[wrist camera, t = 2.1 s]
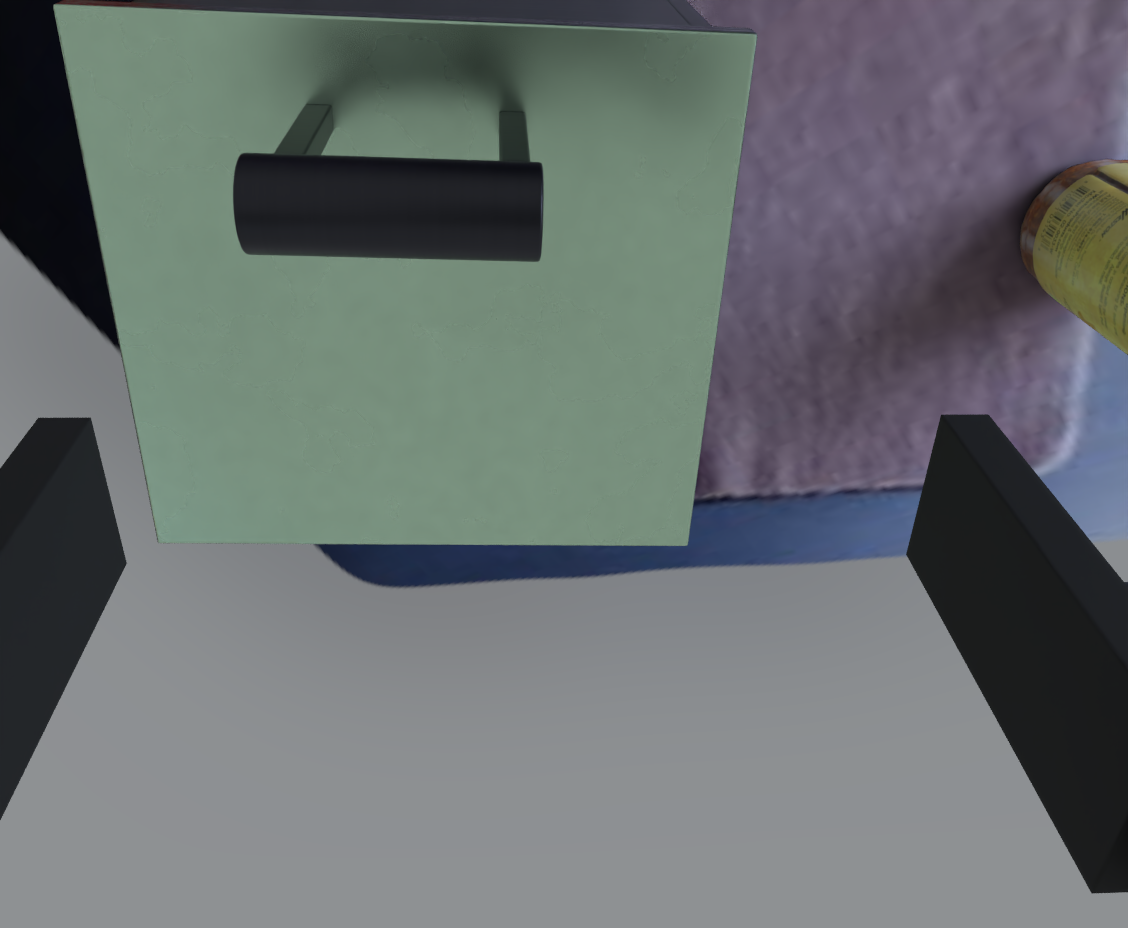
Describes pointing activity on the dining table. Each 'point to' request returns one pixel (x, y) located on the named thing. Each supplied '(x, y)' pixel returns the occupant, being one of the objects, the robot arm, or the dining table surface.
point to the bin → (495, 8)
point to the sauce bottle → (1083, 244)
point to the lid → (411, 266)
